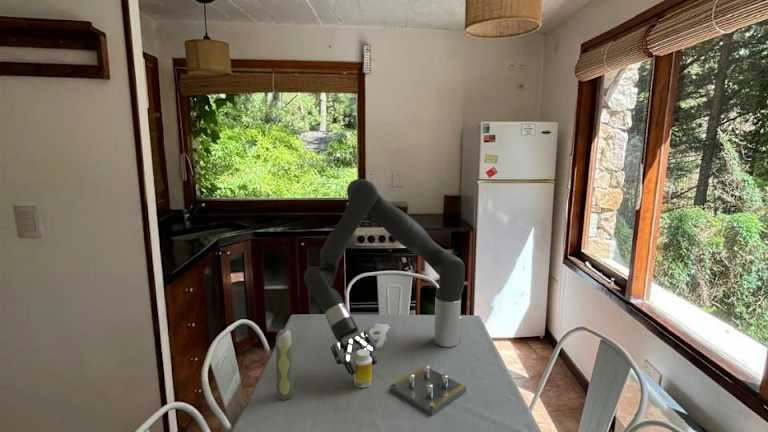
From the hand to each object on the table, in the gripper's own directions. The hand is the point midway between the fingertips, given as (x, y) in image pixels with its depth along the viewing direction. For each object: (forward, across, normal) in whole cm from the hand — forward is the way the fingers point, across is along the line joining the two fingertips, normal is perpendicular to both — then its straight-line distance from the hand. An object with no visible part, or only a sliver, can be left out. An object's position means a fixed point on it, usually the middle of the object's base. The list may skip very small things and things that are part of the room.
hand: (364, 368), depth 124 cm
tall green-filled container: (-4, -20, +12) cm, 24 cm away
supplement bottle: (+3, 0, +4) cm, 5 cm away
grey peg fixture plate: (+14, +12, -7) cm, 20 cm away
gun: (-10, +22, +18) cm, 30 cm away
